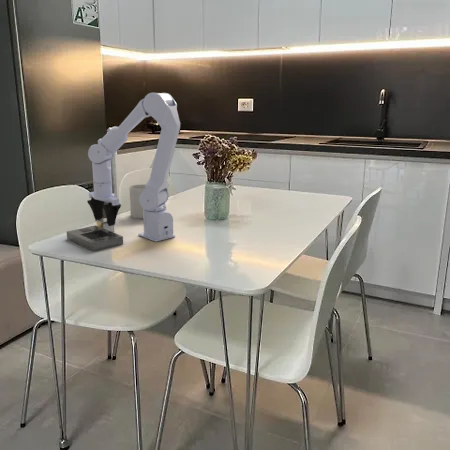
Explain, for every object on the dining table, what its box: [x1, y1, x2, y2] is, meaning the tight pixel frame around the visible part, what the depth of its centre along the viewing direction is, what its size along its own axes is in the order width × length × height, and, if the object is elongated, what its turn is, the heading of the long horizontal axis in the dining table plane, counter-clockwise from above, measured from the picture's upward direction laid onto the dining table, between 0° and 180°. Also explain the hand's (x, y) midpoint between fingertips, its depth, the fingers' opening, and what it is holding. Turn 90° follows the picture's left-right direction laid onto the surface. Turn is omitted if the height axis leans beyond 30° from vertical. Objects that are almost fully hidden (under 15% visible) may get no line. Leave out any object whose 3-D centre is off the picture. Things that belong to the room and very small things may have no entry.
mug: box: [129, 184, 146, 219], centre depth 167 cm, size 12×8×11 cm
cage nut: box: [95, 217, 115, 233], centre depth 149 cm, size 4×5×4 cm
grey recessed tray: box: [66, 224, 124, 252], centre depth 139 cm, size 16×10×2 cm, turn 45°
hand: (105, 223), depth 149 cm, fingers open, 7 cm apart
